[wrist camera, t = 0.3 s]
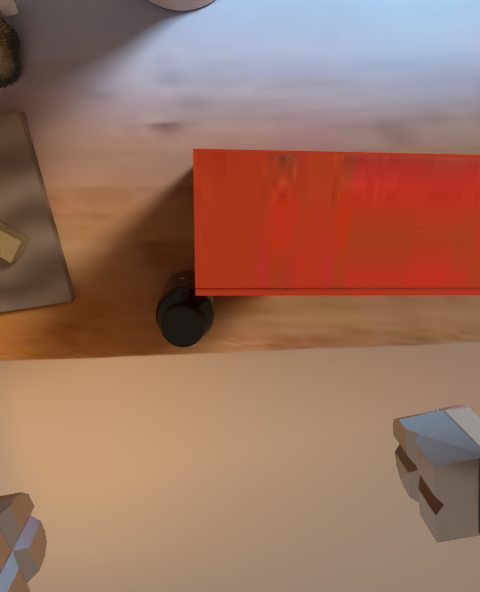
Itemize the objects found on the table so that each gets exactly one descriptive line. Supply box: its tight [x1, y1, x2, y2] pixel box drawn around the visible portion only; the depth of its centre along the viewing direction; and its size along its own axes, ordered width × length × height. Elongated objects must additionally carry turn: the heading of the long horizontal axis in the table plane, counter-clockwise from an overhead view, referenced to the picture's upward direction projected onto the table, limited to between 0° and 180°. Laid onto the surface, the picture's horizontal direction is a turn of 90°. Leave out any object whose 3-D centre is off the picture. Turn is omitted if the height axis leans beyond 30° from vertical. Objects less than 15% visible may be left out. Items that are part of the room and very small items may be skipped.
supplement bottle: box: [156, 272, 214, 347], centre depth 50 cm, size 7×7×12 cm
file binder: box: [193, 149, 480, 296], centre depth 37 cm, size 8×17×32 cm, turn 89°
